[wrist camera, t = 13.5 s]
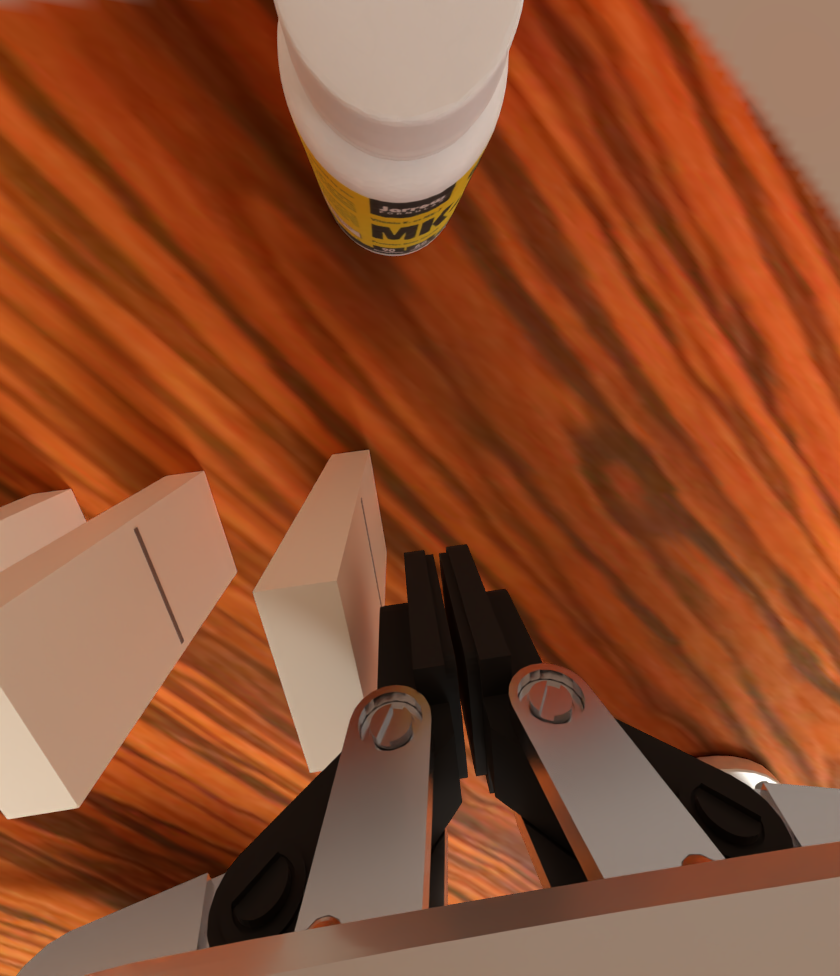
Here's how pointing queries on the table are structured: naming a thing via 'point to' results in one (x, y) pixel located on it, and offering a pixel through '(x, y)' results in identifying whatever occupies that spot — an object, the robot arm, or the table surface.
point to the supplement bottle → (394, 106)
